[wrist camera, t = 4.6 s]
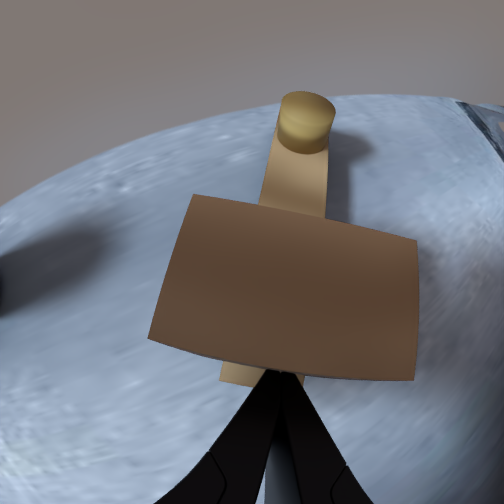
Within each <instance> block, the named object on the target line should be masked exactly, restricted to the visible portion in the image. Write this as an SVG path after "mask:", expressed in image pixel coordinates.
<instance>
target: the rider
mask: <svg viewBox="0 0 504 504" xmlns="http://www.w3.org/2000/svg"><path fill="white" fill-rule="evenodd" d="M418 326H419V271H418V253H417V241H416V240H412V239H409V238H405V237H401V236H397V235H393V234H389V233H385V232H381V231H377V230H373V229H369V228H365V227H361V226H356V225H352V224H348V223H343V222H339V221H334V220H330V219H325V218H321V217H316V216H311V215H307V214H302V213H297V212H292V211H287V210H282V209H277V208H272V207H266V206H261V205H256V204H250V203H245V202H239V201H233V200H227V199H222V198H215V197H209V196H203V195H197V194H193V196H192V199H191V201H190V204H189V207H188V209H187V212H186V215H185V218H184V221H183V223H182V226H181V229H180V232H179V235H178V238H177V241H176V244H175V247H174V250H173V253H172V256H171V259H170V262H169V265H168V268H167V272H166V275H165V278H164V281H163V285H162V288H161V291H160V295H159V298H158V302H157V305H156V309H155V312H154V316H153V320H152V323H151V327H150V331H149V335H148V339H150V340H153V341H156V342H159V343H162V344H165V345H168V346H171V347H174V348H177V349H180V350H183V351H186V352H190V353H193V354H196V355H200V356H204V357H208V358H212V359H216V360H222V361H226V362H231V363H235V364H240V365H245V366H250V367H256V368H261V369H272V370H278V371H280V372H282V371H284V372H291V373H295V374H299V375H305V376H313V377H322V378H334V379H349V380H374V381H414V375H415V366H416V356H417V343H418Z"/></svg>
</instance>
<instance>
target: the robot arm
mask: <svg viewBox="0 0 504 504" xmlns="http://www.w3.org/2000/svg"><path fill="white" fill-rule="evenodd" d="M265 468H266V471H265ZM264 472H265V501H264V504H374V503H373V502H372V501H371V500H370V498H369V497H368V496H367V494H366V493H365V492H364V490H363V489H362V487H361V486H360V484H359V483H358V481H357V480H356V478H355V477H354V475H353V473H352V472H351V470H350V468H349V466H347V465H346V462H345V460H344V458H343V456H342V455H341V453H340V451H339V450H338V448H337V446H336V444H335V443H334V441H333V439H332V438H331V436H330V434H329V432H328V431H327V429H326V427H325V425H324V424H323V422H322V420H321V418H320V417H319V415H318V413H317V411H316V410H315V408H314V406H313V404H312V403H311V401H310V399H309V397H308V395H307V394H306V392H305V390H304V388H303V386H302V385H301V383H300V381H299V379H298V378H297V376H296V374H295V373H291V372H284V371H282V372H281V373H280V371H278V370H272V369H266V370H265V372H264V373H263V375H262V376H261V378H260V379H259V381H258V382H257V384H256V385H255V387H254V388H253V390H252V391H251V392H250V394H249V395H248V397H247V398H246V400H245V401H244V403H243V404H242V405H241V407H240V408H239V410H238V411H237V412H236V414H235V415H234V417H233V418H232V419H231V421H230V422H229V424H228V425H227V426H226V428H225V429H224V430H223V432H222V433H221V434H220V436H219V437H218V438H217V440H216V441H215V442H214V444H213V445H212V446H211V447H210V449H209V451H208V452H206V454H205V455H204V456H203V457H202V459H201V460H200V461H199V462H198V463H197V465H196V466H195V467H194V468H193V469H192V470H191V471H190V472H189V474H188V475H187V476H186V477H184V478H183V479H182V480H181V481H180V482H179V483H178V484H177V485H176V486H175V487H174V488H173V489H171V490H170V491H169V492H168V493H166V494H165V495H164V496H163V497H162V498H160V499H159V500H158V501H156V502H155V503H154V504H255V503H256V500H257V497H258V493H259V490H260V486H261V483H262V479H263V475H264Z"/></svg>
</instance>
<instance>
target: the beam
mask: <svg viewBox="0 0 504 504" xmlns="http://www.w3.org/2000/svg"><path fill="white" fill-rule="evenodd" d="M335 114H336V111H335V107H334V106H333V104H332V103H331V102H330V101H328V100H327V99H326V98H324V97H322V96H320V95H317V94H315V93H311V92H305V91H296V92H291V93H288V94H286V95H285V96H284V97H283V99H282V103H281V107H280V111H279V115H278V120H277V124H276V128H275V133H274V137H273V141H272V146H271V150H270V154H269V159H268V163H267V168H266V172H265V176H264V181H263V185H262V190H261V194H260V198H259V203H258V205H261V206H266V207H272V208H277V209H282V210H287V211H292V212H297V213H302V214H307V215H311V216H316V217H321V218H325V210H326V194H327V173H328V138H329V132H330V129H331V126H332V123H333V120H334V117H335ZM265 370H266V369H261V368H256V367H250V366H245V365H240V364H235V363H231V362H226V361H223V364H222V369H221V374H220V378H219V381H223V382H228V383H233V384H237V385H242V386H248V387H253V388H254V387H255V385H256V384H257V382H258V381H259V379H260V378H261V376H262V375H263V373H264V372H265ZM280 373H281V372H280ZM296 376H297V378H298V379H299V381H300V383H301V385H302V386H303V383H304V378H305V375H299V374H296Z"/></svg>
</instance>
